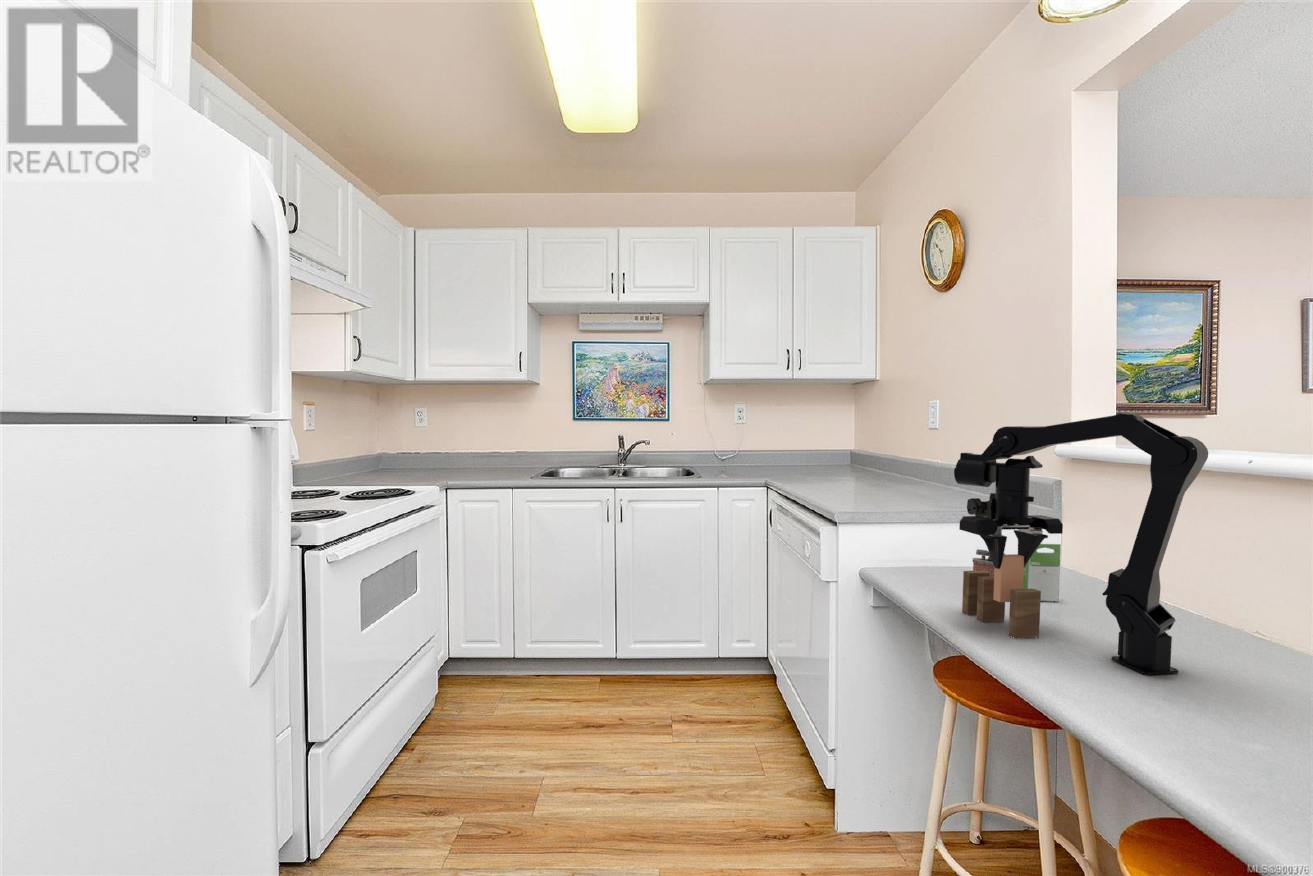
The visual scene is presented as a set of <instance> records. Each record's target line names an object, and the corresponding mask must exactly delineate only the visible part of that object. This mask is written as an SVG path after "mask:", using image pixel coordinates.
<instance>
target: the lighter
mask: <svg viewBox="0 0 1313 876" xmlns="http://www.w3.org/2000/svg"><path fill="white" fill-rule="evenodd" d="M975 551H976V552H975V555H977V556H981V557H973V558H972V563H973V564H972V571H980V570H985V571H988V572H990V576H994V569H995V567H994V565H993V562H992V559H991V556H990V553H989V550H988V549H979V548H977V549H976V550H975ZM1004 555H1006V553H1005V552H1004ZM986 557H987V558H986Z"/></svg>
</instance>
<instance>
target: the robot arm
mask: <svg viewBox="0 0 1313 876" xmlns="http://www.w3.org/2000/svg"><path fill="white" fill-rule="evenodd" d="M1113 437H1122V438H1124V439H1125V440H1127V441H1129V442H1130V443H1132V445H1134V446H1135V447H1136V448H1138V449H1139V450H1140V451H1142V452H1144V453H1146V454H1148V455H1149V456H1150V465H1149V466H1150V467H1149V468H1150V469H1149V472H1150V483H1151V488H1150V489H1151V490H1150V492H1149V495H1148V499H1147V502H1146V505H1145V508H1144V511H1143V515H1142V518H1141V520H1140V524H1139V528H1138V531H1137V534H1136V537H1135V539H1134V543H1133V546H1132V549H1131V553H1130V555H1129V559H1128V562H1127V565H1126V567H1125V568H1124V569H1123V568H1119V569H1117V570H1115V571H1112V572H1109V574H1108V578H1107V587H1106V589H1105V591H1103V592H1102V594H1101V595H1102V596H1106V597H1105V605H1106V606H1105V607H1106V608H1107V609H1108V610H1109V612H1110V614H1111V615H1112V616H1114V617H1115V620H1116V622H1117V624H1118V627H1119V629H1120V630H1119V632H1118V638H1117V639H1118V645H1117V655H1113V656H1111V660H1112V661H1114V662H1117V663H1119V664H1121V665H1123V666H1125V667H1128V668H1130V669H1132V670H1135V671H1136V672H1139V673H1141V674H1144V675H1149V676H1150V675H1165V674H1167V675H1168V674H1178V673H1179V669H1177V668H1175V667H1174V666H1171V663H1172V662H1171V661H1172V643H1173V642H1172V641H1173V637H1172V636H1171V635H1169V634H1168V633H1167V631H1170V630H1171V629H1172V627H1174V626H1173V625H1174V624H1175V622H1176V618H1175V617H1174V616H1173V615H1172V614H1171V613H1170V612H1169V611H1168V610H1167V609H1166V608H1165V607H1164V606H1163V605H1162V604H1161V603H1160V600H1161V599H1160V598H1161V597H1160V596H1161V580H1160V571H1161V570H1160V569H1161V566H1162V563H1163V561H1164V557H1165V554H1166V551H1167V548H1168V546H1169V542H1170V538H1171V535H1172V533H1173V530H1174V526H1175V523H1176V520H1177V518H1178V514H1179V512H1180V508H1181V506H1182V502H1183V498H1184V496H1185V494H1186V492H1187V491H1188V489H1189V488H1190V487H1191V485H1192V484H1193V483H1194V481H1195V480H1196V478H1197V477H1198V476H1199V474H1200V472H1201V471H1202V468H1204V466H1205V463H1206V462H1207V461H1208V459H1209V450H1208V448H1207V446H1206V445H1205V444H1204V443H1203V442H1202V441H1201V440H1200V439H1198V438H1195V437H1192V436H1185V435H1181V436H1180V435H1178V434H1176V433H1174V432H1173V431H1171V430H1169V429H1166V428H1165V427H1162V426H1160V425H1158V424H1156V423H1154V422H1151V421H1150V420H1148V419H1146V418H1145V417H1143V416H1142V415H1140V414H1138V413H1135V412H1119V413H1117V414H1114V415H1108V416H1103V417H1095V418H1090V419H1082V420H1078V421H1072V422H1070V421H1069V422H1063V423H1057V424H1053V425H1052V424H1051V425H1046V426H1044V425H1043V426H1037V425H1036V426H1025V425H1024V426H1023V425H1022V426H1007V425H1006V426H1002V427H999V428H998V429H997V430H996V432H995V433H994V434H993V437H992V441H991V443H990V444H989V445H988V446H987V447H986V449H985V450H984V451H983V452H982V453H981V454H980V453H979V454H978V453H972V452H961V453H960V454H959V456H960V457H959V459H958V460H957V462H956V465H955V467H954V469H953V475H954V480H955V482H956V483H957V484H958V485H960V486H961V485H962V486H972V487H981V488H989V487H991V485H992V484H994V483H995V489H994V491H995V492H990V495H989V500H986V501H982V499H980V498H979V497H978V498H976V497H971V498H969V499H967V503H966V509H967V513H968V515H965V516H962V518H961V519H960V520H959V526H958V527H959V530H960V531H963V532H967V533H970V534H973V535H978V536H979V537H980V538H981V539H982V540H983V542H984V543H985V545H986V548H987V551H989V553H990V556H991V559H992V562H993V565H994V567H995V568H997V569H1000V567H1001V564H1002V560H1003V555H1004V553H1005V549H1006V544H1007V539H1008V536H1006V535H1003V533H1002V532H1003V530H1008V531H1009V530H1013V533H1014V534H1015V537H1016V538H1017V554H1018V555H1021V556H1024V567H1025V565H1026V564H1027V562H1028V561H1029V559H1030V558H1031V556H1032V555H1033V553H1034V552H1035V550H1036V549H1037V547H1038V546H1039V545H1040V544H1042V543H1043V541H1044V540H1045V539H1048V538H1049V535H1048V534H1051V535H1057V534H1062V535H1063V529H1064V527H1063V526H1064V524H1063V522H1062V521H1061V519H1060V518H1056V517H1051V516H1047V515H1042V514H1041V515H1040V514H1037V515H1036V514H1033V515H1029V506H1030V505H1029V503H1033V502H1034V501H1035V497H1034V496H1031V495H1030V474H1031V473H1030V472H1031V469H1032V470H1033V469H1042V468H1043V466H1044V465H1043V464H1042V463H1041V462H1039V461H1038V460H1037V459H1036V458H1035V456H1034V455H1027V454H1032V453H1034V452H1035V453H1036V452H1037V451H1042V450H1044V449H1046V448H1049V447H1053V446H1055V445H1065V444H1071V443H1078V442H1084V441H1085V442H1086V441H1093V440H1098V439H1099V440H1102V439H1107V438H1113ZM1024 455H1025V456H1026V455H1027V456H1026V457H1025V458H1012V457H1014V456H1024ZM997 460H1006V461H1005V462H998V461H997ZM1043 530H1045V531H1046V532H1047V534H1045V533H1043V532H1044V531H1043Z"/></svg>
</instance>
